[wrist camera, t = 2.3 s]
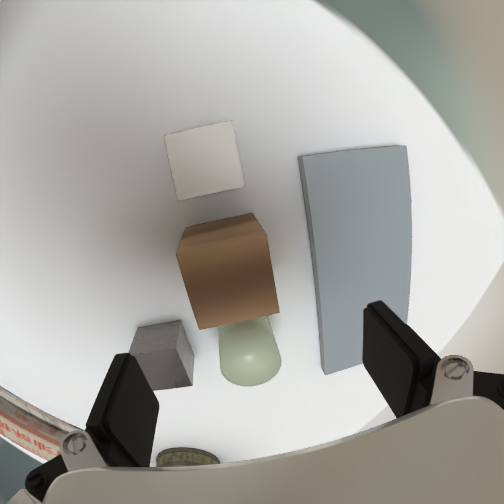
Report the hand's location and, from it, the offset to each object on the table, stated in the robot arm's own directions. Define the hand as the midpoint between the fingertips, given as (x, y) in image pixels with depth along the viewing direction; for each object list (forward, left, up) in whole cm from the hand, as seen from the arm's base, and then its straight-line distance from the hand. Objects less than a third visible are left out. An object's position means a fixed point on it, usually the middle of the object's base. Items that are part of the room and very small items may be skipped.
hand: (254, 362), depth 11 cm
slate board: (+4, +11, -12) cm, 17 cm away
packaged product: (+19, -32, -13) cm, 40 cm away
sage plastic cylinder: (+7, 0, -12) cm, 14 cm away
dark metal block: (+7, -7, -12) cm, 16 cm away
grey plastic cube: (-7, 0, -12) cm, 14 cm away
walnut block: (0, 0, -12) cm, 12 cm away
